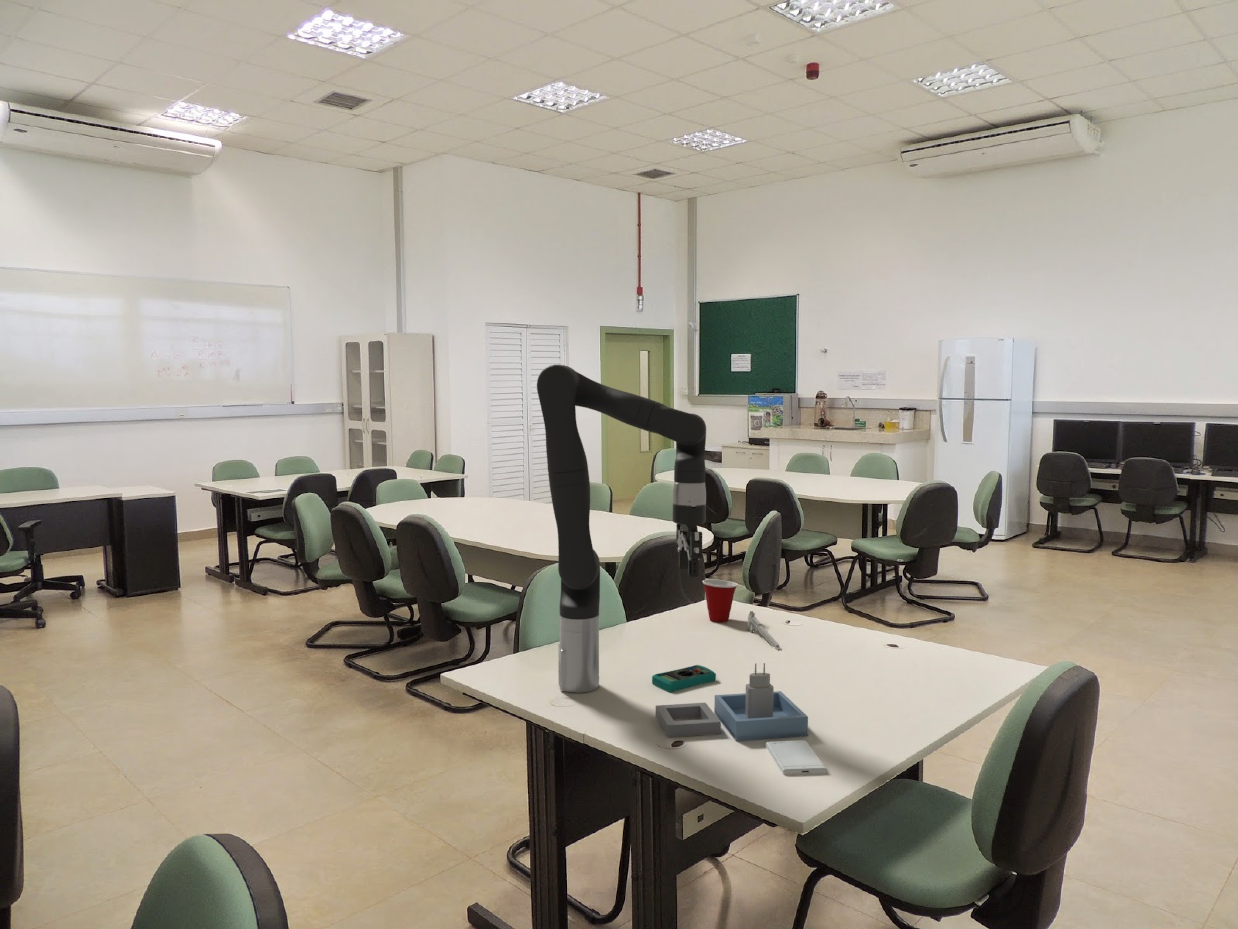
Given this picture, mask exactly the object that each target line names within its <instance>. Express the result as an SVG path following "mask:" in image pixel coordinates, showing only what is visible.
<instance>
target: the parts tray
mask: <svg viewBox="0 0 1238 929" xmlns="http://www.w3.org/2000/svg"><path fill="white" fill-rule="evenodd" d="M745 704H746V692H745V693H743V692H742V693H731V694H729V693H728V694H714V711H713V713H714V714H715V715H716V717H717V718H718V719H719V720H720V722H721V724H722V725H723V726H724V727H725V729H726V731H727V732H729V734H730V735H731V737H732V738H733V740H735V742H742V741H744V742H745V741H757V740H770V739H771V740H773V739H785V738H799V737H800V736H801V737H808V732H809V731H808V730H809V716H808V715H807V714H806V713H805V712H804V711H803V710H801V708H800V707H798V706H797V704H795V703H794V702H793V701H792V700H791V699H790V698H789V697H787V695H786V694H785V693H783V691H781V690H780V691H779V690H777V691H774V693H773V717H766V718H751V719H745Z"/></svg>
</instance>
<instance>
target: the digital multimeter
mask: <svg viewBox="0 0 1238 929" xmlns="http://www.w3.org/2000/svg"><path fill="white" fill-rule="evenodd" d="M651 676H652V677H651V684H652V685H654V686H655V687H657V688H659V689H661V690H664V691H666V692H669V693H672V692H673V691H674V692H677V691H678V692H679V691H681V690H685V689H688V688H691V687H692V688H693V687H696V686H701V685H706V684H710V683H713V682H716V681H717V674H716V672H714V670H711V669H710V668H708V667H706V666H703V665H700V664H694V665H692V666H687V667H683V668H677V669H674V670H670V671H665V672H659V673H655V674H653V675H651Z"/></svg>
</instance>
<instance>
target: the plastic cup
mask: <svg viewBox="0 0 1238 929" xmlns="http://www.w3.org/2000/svg"><path fill="white" fill-rule="evenodd" d="M702 583H703V588H704V593H705V601H706V607H707V613H708V619H709V621H710V622H712V623H727V622H729V619H730V616H731V615H730V614H731V611H732V605H733V600H734V596H735V593H736V592H735V591H736V589H737V587H738V586H739V584H738V583H736V582H734V581H730V580H725V579H704V580H702Z"/></svg>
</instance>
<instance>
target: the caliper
mask: <svg viewBox="0 0 1238 929" xmlns="http://www.w3.org/2000/svg"><path fill="white" fill-rule="evenodd" d="M755 615H756V613H755V612H754V611H753V610H750V611H749V613H748V616H747V617H748V618H747V630H750V631H751V632H750V631H749V632H750V633H753V632H752V631H754V632H755V631H756V633H759V634H760V635H762V637H764V639H765V640H766V641H767V642H768V643H769V644H770V645H771V647H772V646H773V647H775V648H776V649H775V648H774V649H775V650H777V651H782V648H781V647H780V643H778V641H776V640H775V638H774V637H773V636H772V635H771V634H770V633H769V632H768V631H767V630H766V629H765V627H764V626H763V625H762V623H761V622H760V621H759V620H758V618H757V617H756V616H755ZM773 647H772V648H773Z"/></svg>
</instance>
